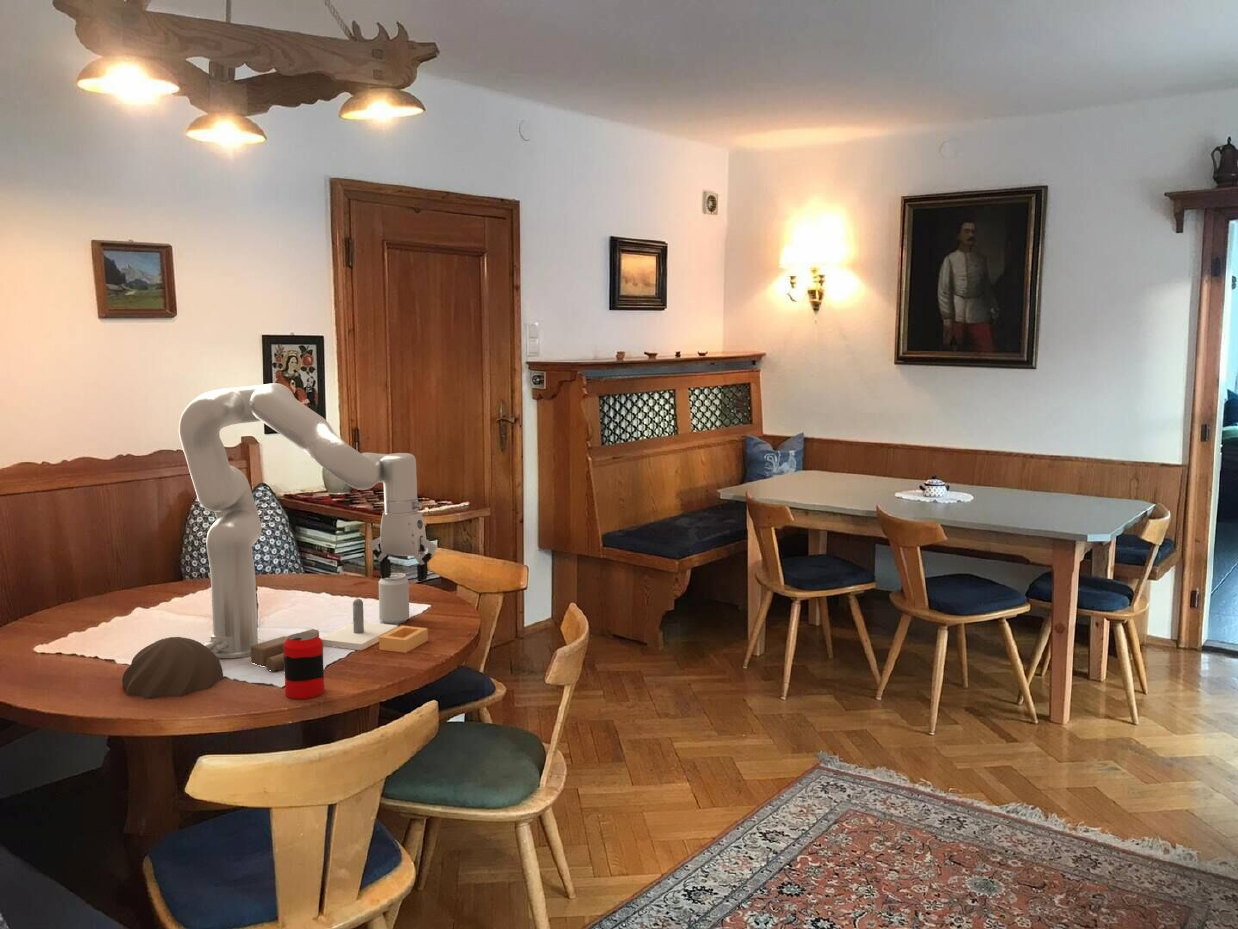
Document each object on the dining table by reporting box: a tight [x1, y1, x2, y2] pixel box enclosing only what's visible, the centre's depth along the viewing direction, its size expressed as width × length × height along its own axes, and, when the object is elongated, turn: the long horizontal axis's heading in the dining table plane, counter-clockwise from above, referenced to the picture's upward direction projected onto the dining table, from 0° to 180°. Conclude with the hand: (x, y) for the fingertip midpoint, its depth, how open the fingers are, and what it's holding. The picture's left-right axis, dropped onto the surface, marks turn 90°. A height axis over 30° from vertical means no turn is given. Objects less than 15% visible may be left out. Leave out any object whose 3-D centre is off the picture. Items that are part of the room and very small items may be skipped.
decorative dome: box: [121, 636, 224, 700], centre depth 215 cm, size 19×20×10 cm
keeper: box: [319, 598, 399, 651], centre depth 246 cm, size 16×12×10 cm
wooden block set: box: [250, 628, 320, 673], centre depth 229 cm, size 17×6×18 cm
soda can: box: [284, 631, 325, 700], centre depth 208 cm, size 8×8×12 cm
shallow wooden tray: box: [378, 625, 429, 654], centre depth 241 cm, size 10×7×3 cm
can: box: [378, 572, 410, 625], centre depth 260 cm, size 8×8×12 cm
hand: (404, 578), depth 239 cm, fingers open, 9 cm apart
